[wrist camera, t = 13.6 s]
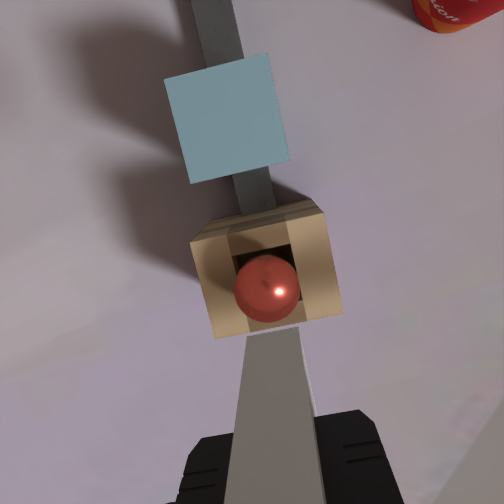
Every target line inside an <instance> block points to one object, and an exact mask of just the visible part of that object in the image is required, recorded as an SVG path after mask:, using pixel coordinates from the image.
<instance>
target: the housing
mask: <svg viewBox="0 0 504 504" xmlns="http://www.w3.org/2000/svg"><path fill="white" fill-rule="evenodd" d="M190 246H191V250H192V254H193V258H194V261H195V265H196V269H197V273H198V277H199V280H200V284H201V288H202V292H203V295H204V299H205V303H206V307H207V311H208V314H209V318H210V322H211V326H212V329H213V333H214V337H215V339H220V338H225V337H230V336H235V335H240V334H245V333H250V332H255V331H260V330H264V329H269V328H274V327H279V326H284V325H289V324H294V323H299V322H304V321H309V320H314V319H319V318H324V317H329V316H334V315H339V314H344V312H343V307H342V302H341V297H340V292H339V287H338V282H337V277H336V272H335V267H334V262H333V257H332V252H331V247H330V242H329V236H328V231H327V226H326V221H325V216H324V213H323V211H322V210H321V209H320V208H319V207H318V206H317V205H316V204H315V203H314V201H313V200H312V199H311V198H310V199H305V200H301V201H296V202H292V203H288V204H283V205H279V206H277V209H273V210H269V211H264V212H260V213H255V214H251V215H246V216H242V215H241V214H239V215H234V216H230V217H226V218H221V219H217V220H212V221H210V222H209V223H208V224H207V225H206V226H205V227H204V228H203V229H202V230H201V231H200V232H199V233H198V234H197V235H196V236H195V238H194V239H193V240H192V241H191V242H190ZM267 248H273V249H276V250H278V251H279V252H280V253H282V255H283V256H284V257H285V260H286V261H287V262H288V263H289V264H290V265H291V266H292V267H293V268H294V270H295V272H296V274H297V277H298V280H299V285H300V297H299V301H298V303H297V305H296V307H295V309H294V310H293V311H292V312H291V313H290V314H289V315H288V316H287V317H285V318H283V319H281V320H279V321H276V322H270V323H265V322H259V321H256V320H253V319H251V318H249V317H248V316H246V315H245V314H244V313H243V312H242V311H241V310H240V308H239V307H238V305H237V303H236V300H235V296H234V285H235V281H236V278H237V275H238V272H239V270H240V269H241V267H242V266H243V265H244V264H245V263H246V262H247V261H249V260H250V259H251V257H252V256H253V254H254V253H255V252H257V251H258V250H263V249H267Z"/></svg>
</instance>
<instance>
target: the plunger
mask: <svg viewBox="0 0 504 504" xmlns="http://www.w3.org/2000/svg"><path fill="white" fill-rule="evenodd" d="M234 296H235V300H236V303H237V305H238V307H239V308H240V310H241V311H242V312H243V313H244V314H245V315H246V316H248V317H249V318H251V319H253V320H256V321H259V322H265V323H270V322H276V321H279V320H281V319H283V318H285V317H287V316H288V315H289V314H290V313H291V312H292V311H293V310H294V309H295V307H296V305H297V303H298V301H299V297H300V285H299V280H298V277H297V274H296V272H295V270H294V268H293V267H292V266H291V265H290V264H289V263H288V262H287V261H286V260H285V257H284V256H283V255H282V253H280V252H279V251H278V250H276V249H273V248H267V249H263V250H258V251H257V252H255V253H254V254H253V256H252V257H251V259H250V260H249V261H247V262H246V263H245V264H244V265H243V266H242V267H241V269H240V270H239V272H238V275H237V278H236V281H235V285H234Z"/></svg>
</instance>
